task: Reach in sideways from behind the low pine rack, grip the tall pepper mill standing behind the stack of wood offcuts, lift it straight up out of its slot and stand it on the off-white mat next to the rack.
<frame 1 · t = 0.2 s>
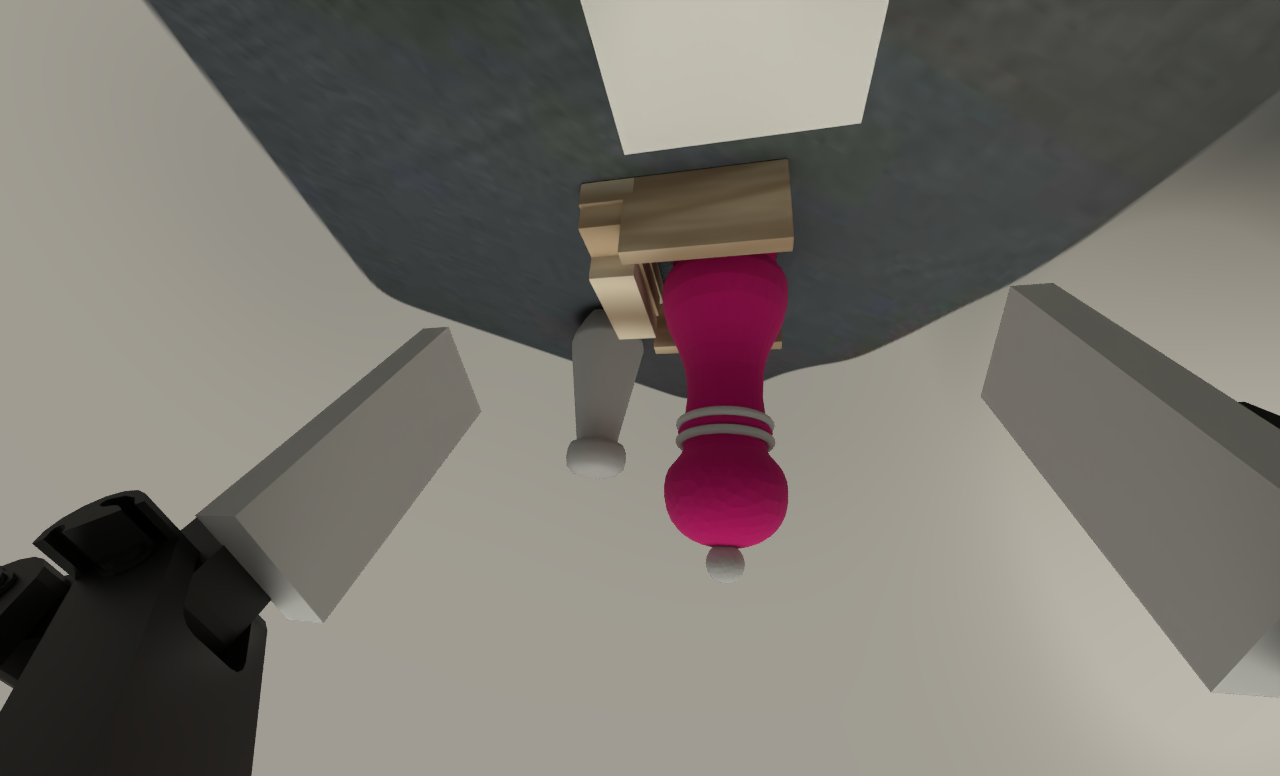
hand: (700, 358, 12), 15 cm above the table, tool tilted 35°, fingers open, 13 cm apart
salt shaker: (610, 319, 40), on the table
mat: (732, 3, 18), on the table
pepper mill: (723, 235, 30), on the table
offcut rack: (723, 238, 30), on the table
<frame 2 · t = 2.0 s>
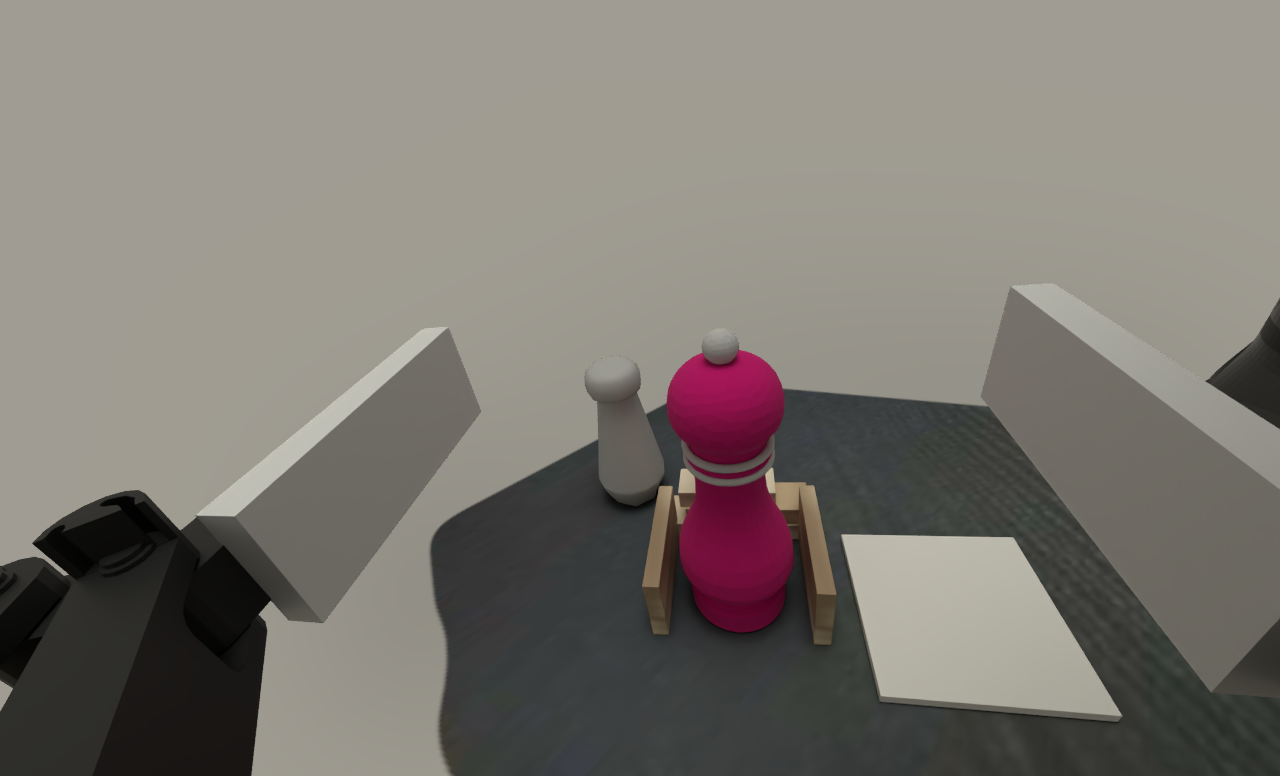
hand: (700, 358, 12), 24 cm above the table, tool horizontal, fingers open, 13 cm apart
salt shaker: (636, 491, 43), on the table
mat: (952, 613, 30), on the table
pepper mill: (738, 592, 33), on the table
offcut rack: (738, 590, 33), on the table
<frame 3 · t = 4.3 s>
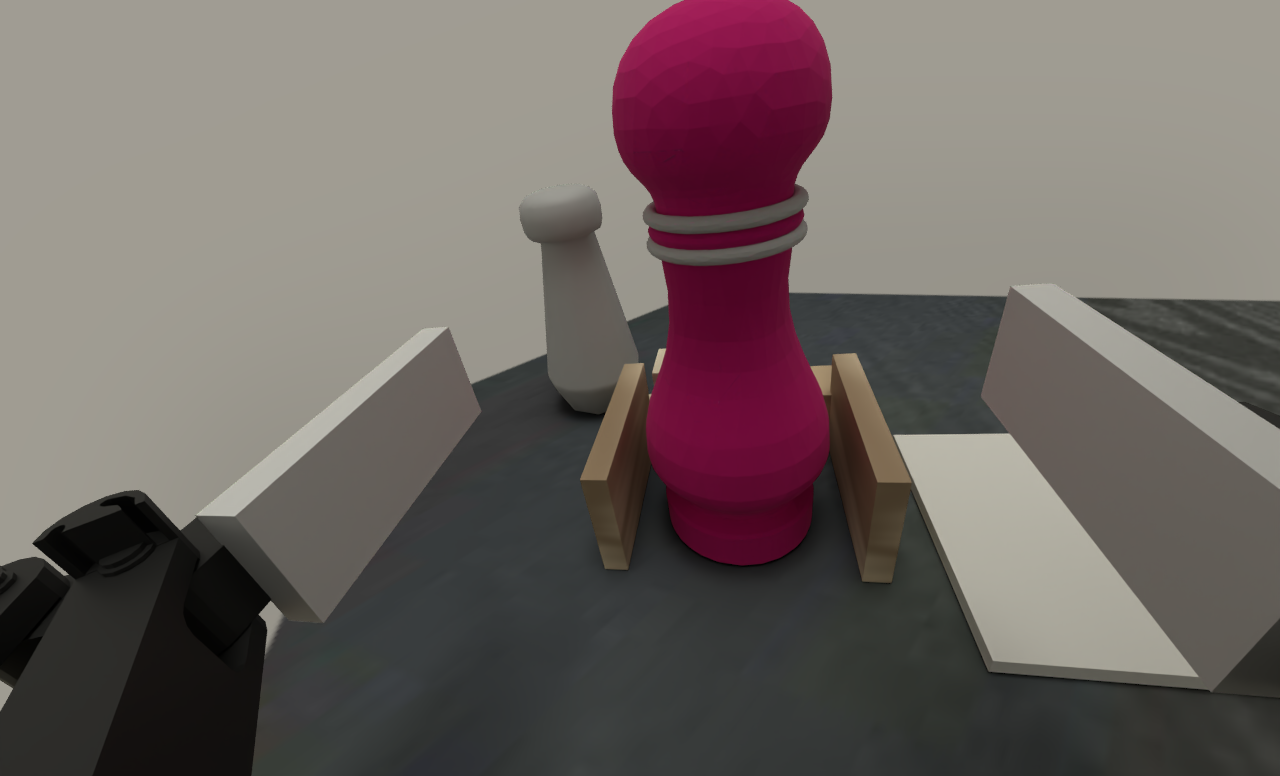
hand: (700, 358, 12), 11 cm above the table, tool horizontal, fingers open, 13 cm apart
salt shaker: (601, 398, 32), on the table
mat: (1089, 535, 18), on the table
pepper mill: (738, 512, 22), on the table
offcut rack: (738, 509, 22), on the table
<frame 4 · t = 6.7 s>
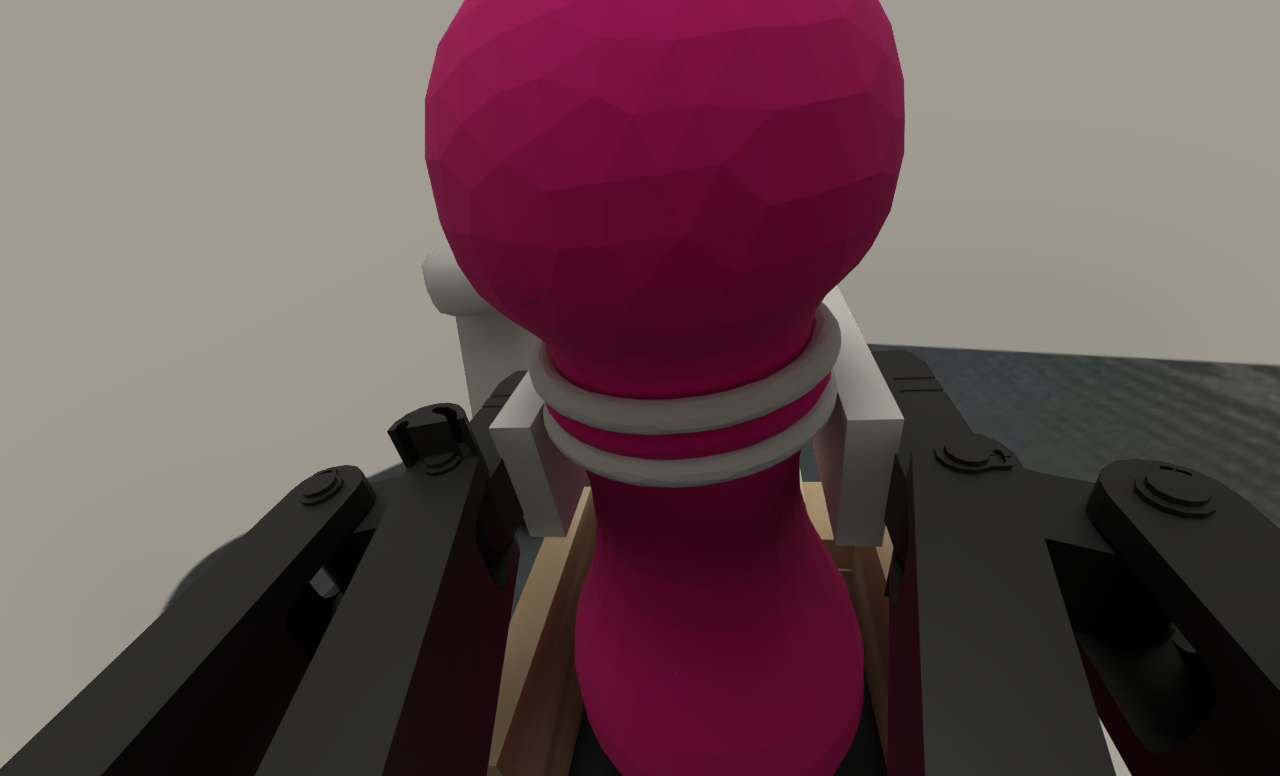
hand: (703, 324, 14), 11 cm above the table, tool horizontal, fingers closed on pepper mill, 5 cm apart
salt shaker: (552, 495, 25), on the table
pepper mill: (723, 723, 15), on the table, touching gripper
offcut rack: (722, 720, 15), on the table
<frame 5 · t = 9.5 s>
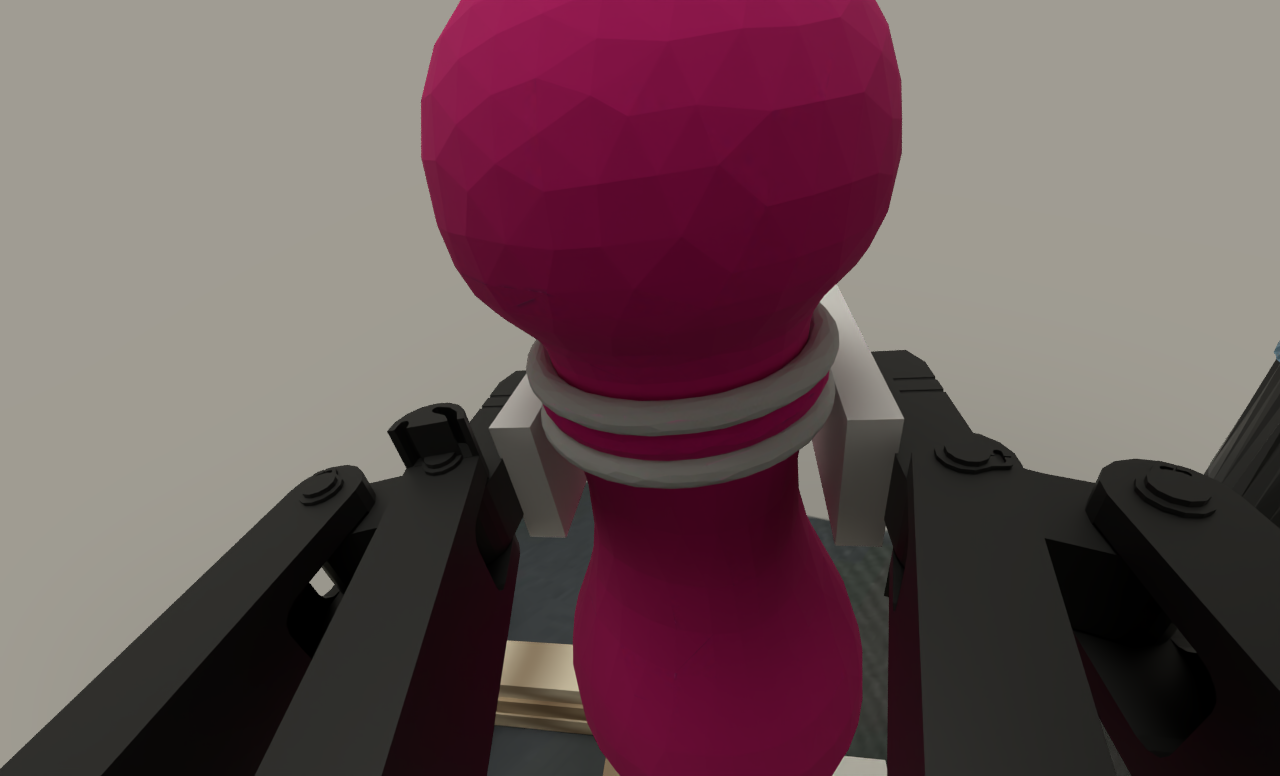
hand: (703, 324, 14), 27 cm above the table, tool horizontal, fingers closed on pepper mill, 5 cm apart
pepper mill: (721, 724, 15), point 15 cm above the table, touching gripper
when the fingers open (13 cm above the table, at t = 12.7 s): pepper mill drops 1 cm, resting on mat.
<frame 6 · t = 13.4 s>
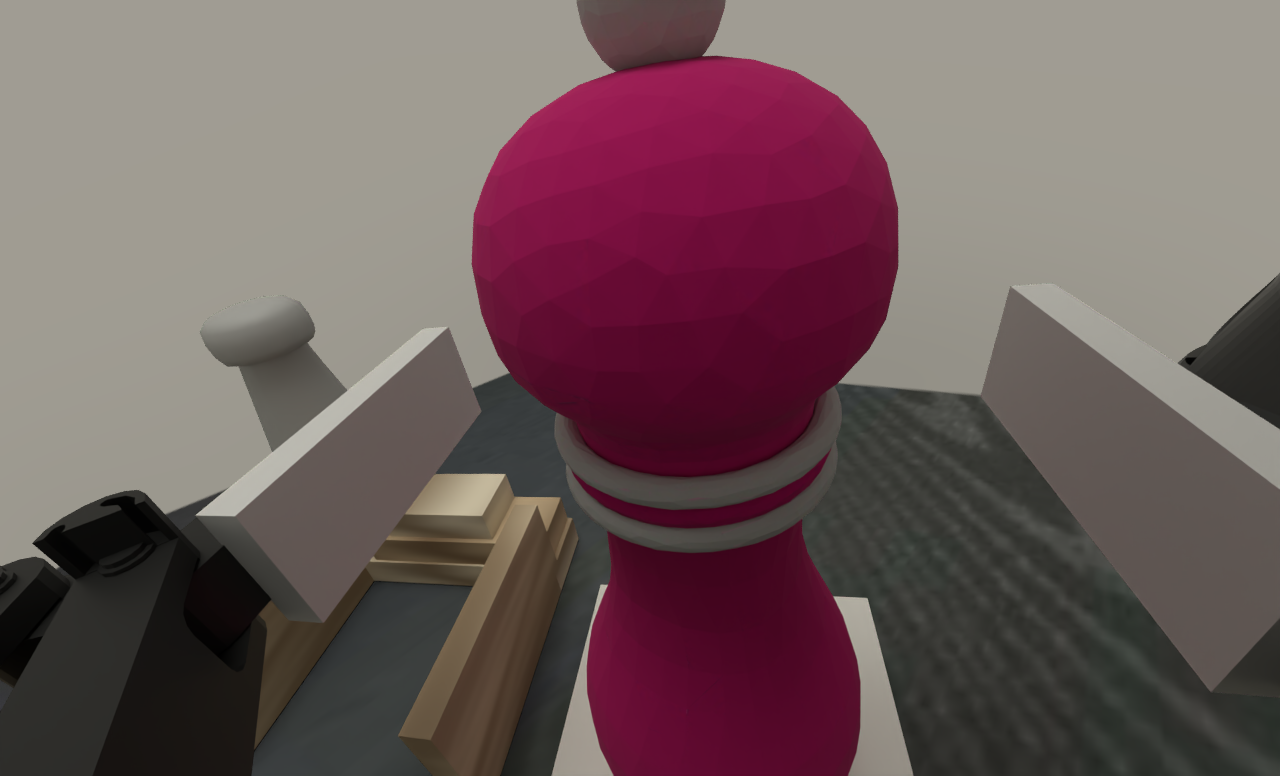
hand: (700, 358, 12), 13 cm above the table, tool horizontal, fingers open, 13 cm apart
salt shaker: (367, 505, 30), on the table
mat: (725, 749, 16), on the table
pepper mill: (725, 746, 16), resting on mat
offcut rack: (401, 682, 19), on the table
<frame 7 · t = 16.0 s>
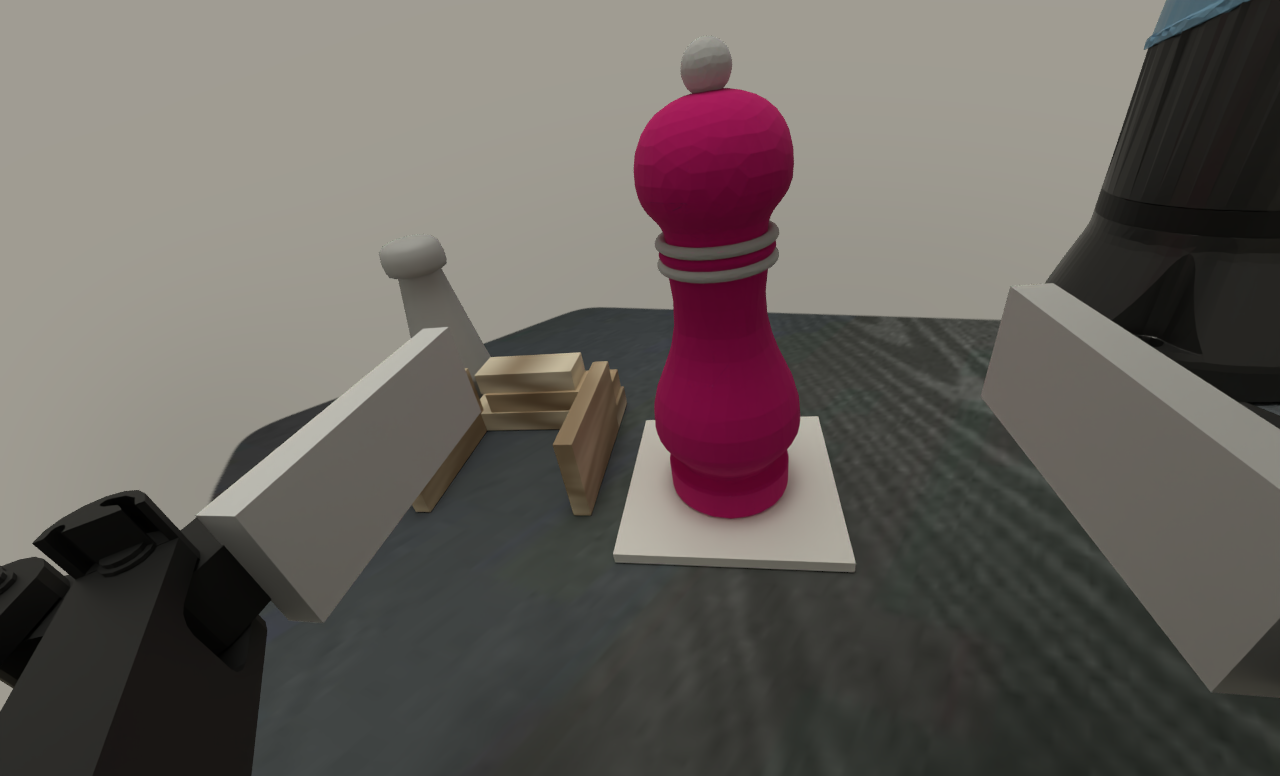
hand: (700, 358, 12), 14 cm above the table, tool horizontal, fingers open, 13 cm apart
salt shaker: (467, 395, 41), on the table
mat: (729, 484, 27), on the table
pepper mill: (729, 479, 27), resting on mat
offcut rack: (521, 472, 31), on the table
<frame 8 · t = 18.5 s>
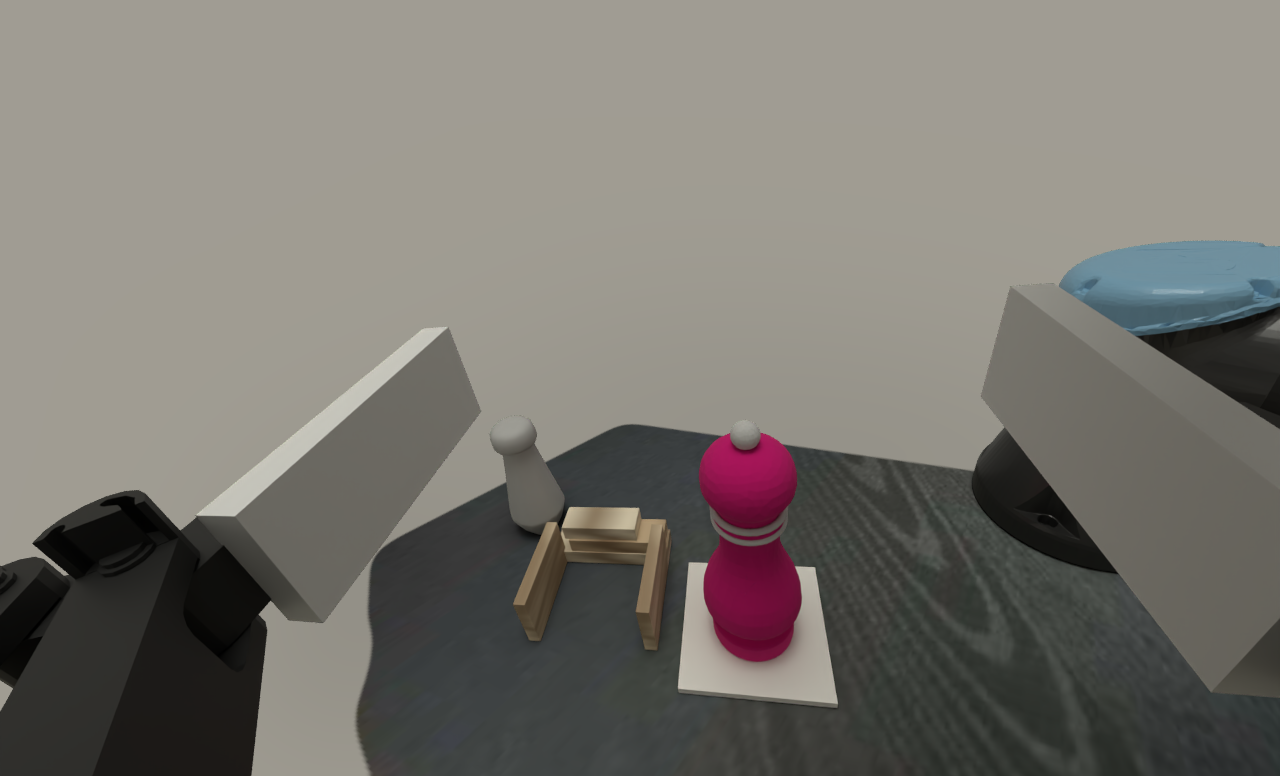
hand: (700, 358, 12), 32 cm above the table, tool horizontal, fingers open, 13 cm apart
salt shaker: (543, 521, 52), on the table
mat: (752, 627, 39), on the table
pepper mill: (752, 624, 39), resting on mat
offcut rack: (601, 606, 42), on the table
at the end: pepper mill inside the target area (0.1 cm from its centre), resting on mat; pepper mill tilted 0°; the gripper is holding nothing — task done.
